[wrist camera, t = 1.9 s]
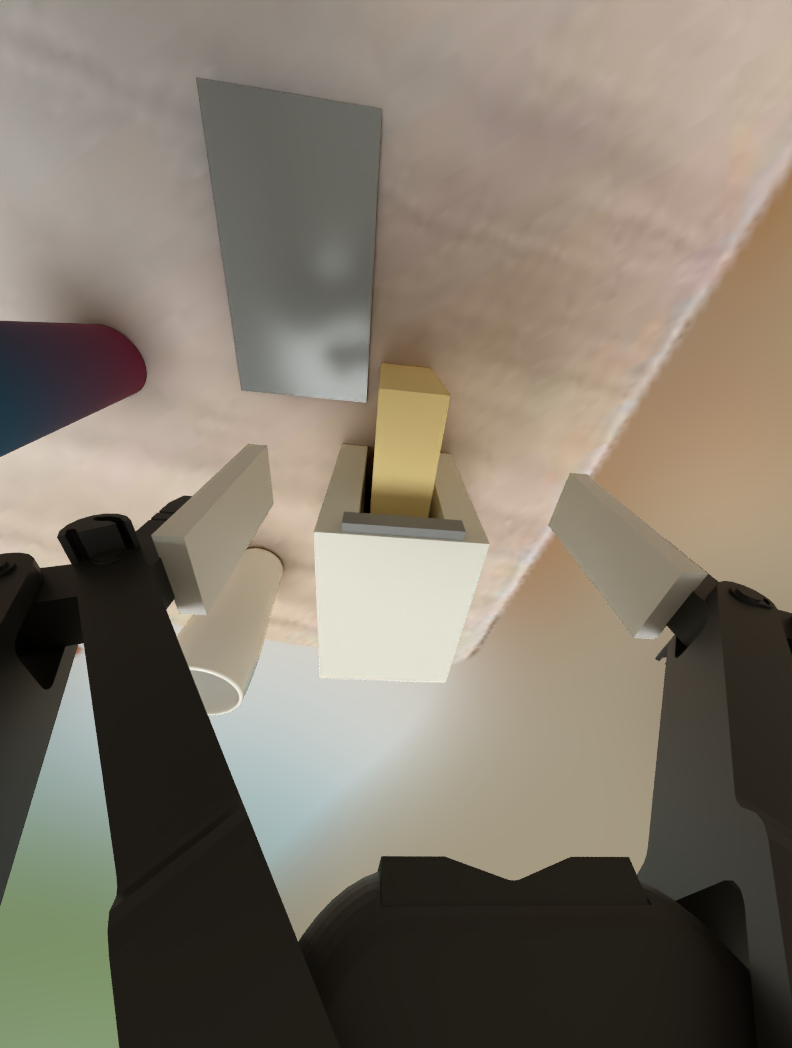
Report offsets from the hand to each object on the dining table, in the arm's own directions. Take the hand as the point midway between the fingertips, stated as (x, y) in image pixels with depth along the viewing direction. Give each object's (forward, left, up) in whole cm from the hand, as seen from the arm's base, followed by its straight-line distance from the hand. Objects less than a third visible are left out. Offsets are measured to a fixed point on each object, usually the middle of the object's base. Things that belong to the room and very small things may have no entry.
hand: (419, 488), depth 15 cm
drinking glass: (+19, -14, -16) cm, 29 cm away
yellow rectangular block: (+4, 0, -16) cm, 17 cm away
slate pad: (-8, -8, -16) cm, 20 cm away
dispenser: (+11, 0, -16) cm, 20 cm away
